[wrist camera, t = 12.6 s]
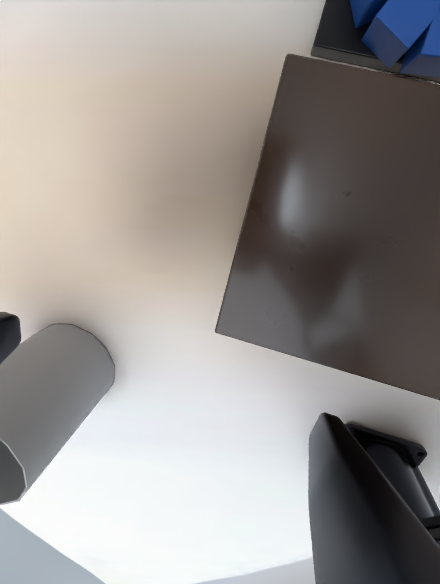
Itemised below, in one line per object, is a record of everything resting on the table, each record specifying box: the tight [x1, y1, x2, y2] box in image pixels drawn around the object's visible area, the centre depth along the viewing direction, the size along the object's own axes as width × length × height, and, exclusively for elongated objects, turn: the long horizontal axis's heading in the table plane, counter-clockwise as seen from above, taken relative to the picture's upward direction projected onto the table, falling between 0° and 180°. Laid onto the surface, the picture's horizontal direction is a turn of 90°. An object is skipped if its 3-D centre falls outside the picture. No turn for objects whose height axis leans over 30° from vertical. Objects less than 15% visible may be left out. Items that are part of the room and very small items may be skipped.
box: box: [215, 54, 440, 400], centre depth 14 cm, size 10×10×8 cm
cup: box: [0, 324, 114, 505], centre depth 22 cm, size 8×8×10 cm
